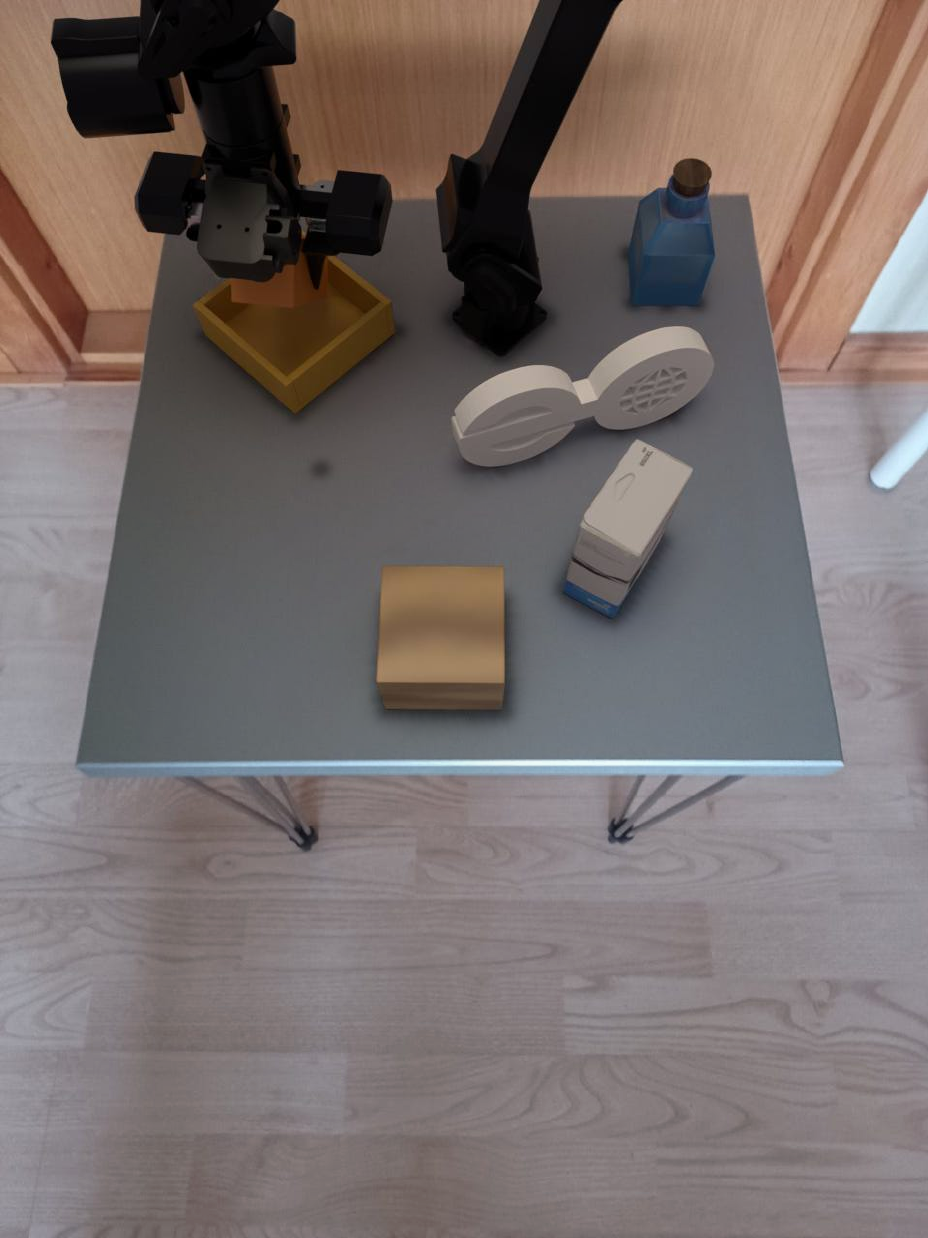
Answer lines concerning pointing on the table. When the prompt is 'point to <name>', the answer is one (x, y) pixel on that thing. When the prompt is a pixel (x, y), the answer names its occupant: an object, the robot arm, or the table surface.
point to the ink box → (624, 527)
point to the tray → (300, 334)
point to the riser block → (441, 637)
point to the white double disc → (581, 397)
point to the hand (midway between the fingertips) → (287, 282)
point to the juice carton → (282, 286)
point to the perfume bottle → (673, 240)
